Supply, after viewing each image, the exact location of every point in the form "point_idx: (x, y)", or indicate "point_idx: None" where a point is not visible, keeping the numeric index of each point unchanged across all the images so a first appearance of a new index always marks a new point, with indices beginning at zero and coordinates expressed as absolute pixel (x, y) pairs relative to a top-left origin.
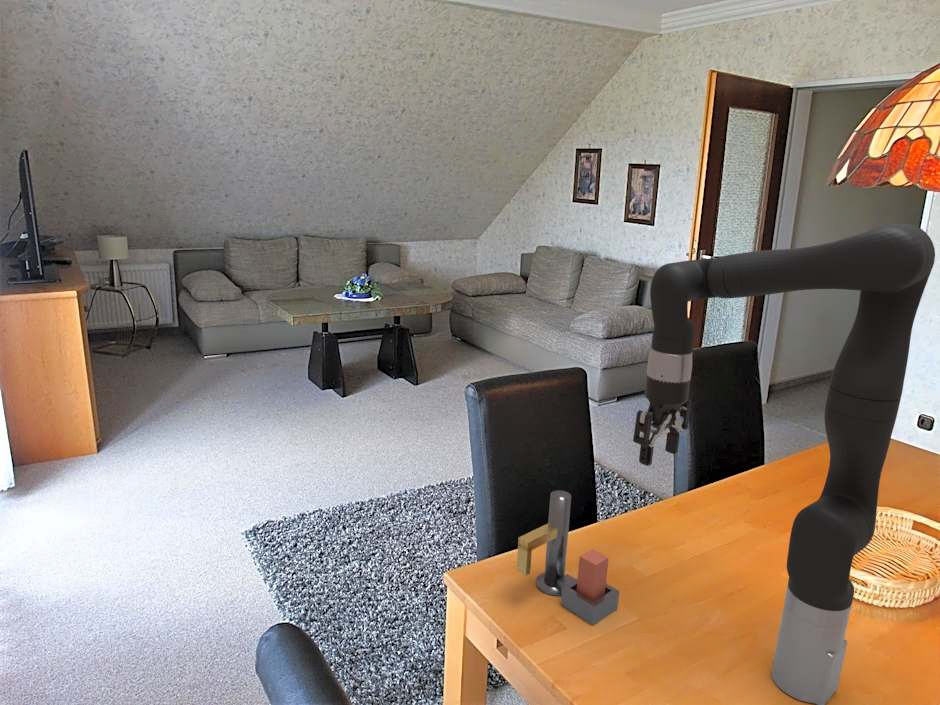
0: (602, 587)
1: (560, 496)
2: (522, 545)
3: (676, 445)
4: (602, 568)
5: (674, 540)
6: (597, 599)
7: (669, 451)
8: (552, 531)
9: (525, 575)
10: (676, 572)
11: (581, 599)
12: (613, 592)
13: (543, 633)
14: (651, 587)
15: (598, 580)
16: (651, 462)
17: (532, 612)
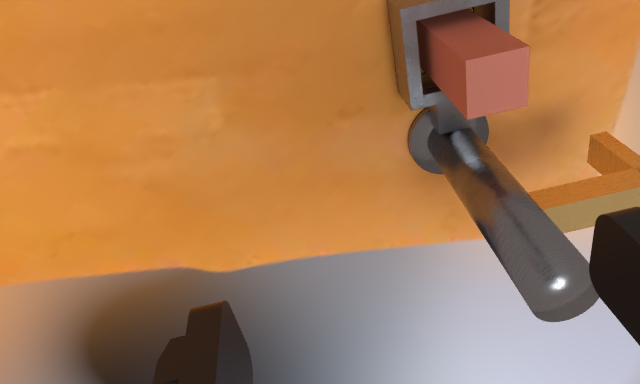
0: (447, 30)
1: (575, 290)
2: None
3: (218, 367)
4: (482, 46)
5: (36, 168)
6: (454, 19)
7: (240, 339)
8: (564, 203)
9: (606, 132)
10: (125, 54)
11: (508, 26)
12: (418, 11)
13: (589, 7)
14: (238, 32)
15: (481, 34)
16: (622, 223)
17: (550, 78)
